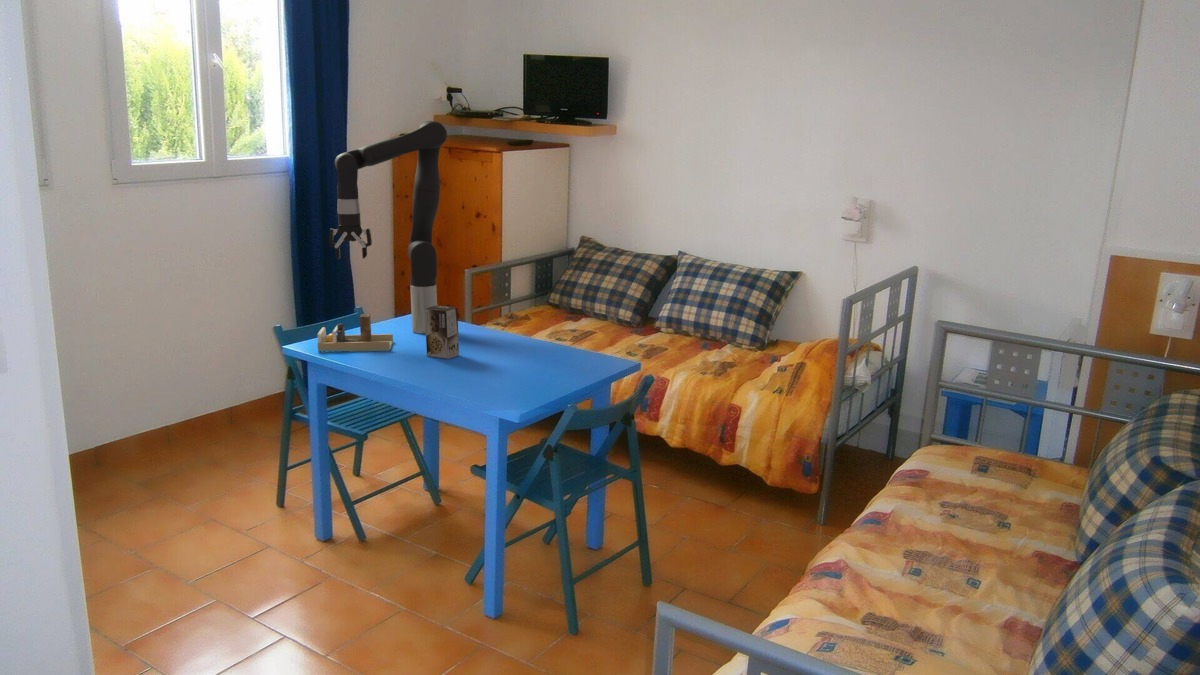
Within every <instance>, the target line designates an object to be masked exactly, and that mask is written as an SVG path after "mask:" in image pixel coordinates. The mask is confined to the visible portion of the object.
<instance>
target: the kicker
mask: <svg viewBox="0 0 1200 675" xmlns="http://www.w3.org/2000/svg"><path fill="white" fill-rule="evenodd" d="M371 322H372V321H371V313H362V314H360V316H359V330H360V331H359V332H360V335H361V339H345V335H346V333H345V332H346V331H345V325H344V323H342V322H340V323H338V324H337V325H336V326H337V327H338V329H339V330H338V331H337V333H336V335H337V336H338V342H371V340H372V339H371V334H372V325H371Z"/></svg>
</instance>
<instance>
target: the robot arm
mask: <svg viewBox="0 0 1200 675" xmlns="http://www.w3.org/2000/svg"><path fill="white" fill-rule="evenodd" d="M447 138H448V132H447V129H446V128H445V126H444V125H443V124H442V123H440V122H439V121H435V120H427V121H424V122H422V123H421V124H420V125H419V127H418V128H417V129H415V130H413V131H412V132H408V133H406V134H402V135H400V136H396V137H390V138H387V139H383V140H380V141H377V142H374V143H369V144H367V145H364V146H362V147H360V148H355V149H353V150H349V151H348V150H347V151H346V152H342V153H340V154H338V155H337V156H336V157H335V159H334V166H335V169H336V172H337V173H336V174H337V186H336V191H337V194H336V195H337V196H336V197H337V201H336V202H337V205H336V206H337V209H336V212H337V222H338V223H337V224H338V225H337V226H338V227H337V228H335V229H334V228H330V229H329V230H328V246H329V247H333V248H334V250H335V252H334V254H335V257H336V258H337V260H340V259H341V247H340V246H341V245H342V243H343V242H356V241H357V242H358V243H359V244H360V246H361V247H362V248H361V253H362V259H366V257H368V256H367V255H368V247H371V245H372V244H373V243H372V242H373V241H372V232H371V228H370V227H369V228H363V227H362V223H361V222H362V221H361V207H360V200H359V188H358V178H359V177H358V175H359V172H358V171H359V170H360V169H364V168H366V167H373V166H376V165H380V164H382V163H384V162H387V161H390V160H393V159H396V158H398V157H400V156H404V155H406V154H410V153H413V152H416V151H417V163H416V164H417V165H416V169H415V175H414V181H413V182H414V184H413V193H412V224H411V225H412V226H411V232H410V237H409V243H408V248H407V255H408V259H409V260H410V279H409V282H410V284H409V287H410V307H411V310H410V311H411V328H412V329H411V331H412V332H413V334H414V333H415V334H426V328H425V309H426V308H429V307H432V306H435V305H437V306H438V298H437V296H438V294H437V278H438V260H437V259H438V256H437V254H438V253H437V250H436V248H435V246H434V245H433V227H434V224H435V223H434V222H435V220H436V216H437V214H438V213H437V212H438V210H439V206H440V205H439V204H440V197H441V196H440V195H441V178H440V170H439V156H440V150H441V146H442V145H444V144H445V142H446V141H447ZM362 233H363V235H365V236H366V241H367V242H366V241H364V239H363V238H362V236H361V235H362ZM336 234H338V235H339V236H340V237H339V238H338V240H337V242H336V243H335V235H336Z"/></svg>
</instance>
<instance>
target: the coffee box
mask: <svg viewBox="0 0 1200 675" xmlns="http://www.w3.org/2000/svg"><path fill="white" fill-rule="evenodd" d="M425 328H426V333H425V341H426V342H425V344H426V346H425V347H426V356H427V357H433V358H440V359H447V360H450V359H452V358H455V357H458V356H460V347H459V318H458V307H455V306H448V305H447V306H444V305H438V304H437V305H435V306H432V307H429V308H426V309H425Z"/></svg>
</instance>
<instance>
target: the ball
mask: <svg viewBox="0 0 1200 675" xmlns="http://www.w3.org/2000/svg"><path fill="white" fill-rule="evenodd" d="M326 335H327V334H326ZM336 337H337V342H338V336H337V334H336ZM326 341H327V343H330V342H333V332H331V333H329V334H328V335H327V337H326Z"/></svg>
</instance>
